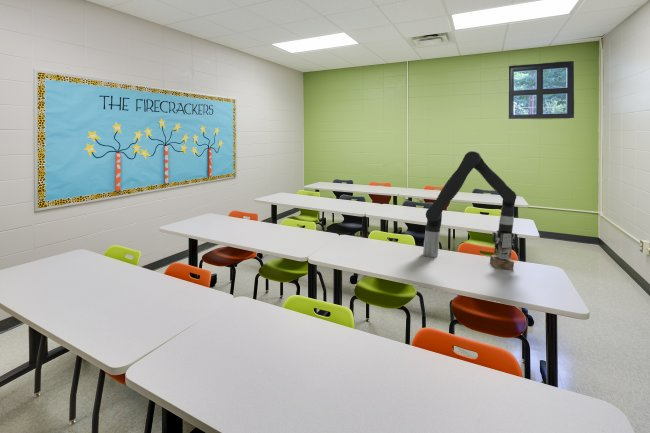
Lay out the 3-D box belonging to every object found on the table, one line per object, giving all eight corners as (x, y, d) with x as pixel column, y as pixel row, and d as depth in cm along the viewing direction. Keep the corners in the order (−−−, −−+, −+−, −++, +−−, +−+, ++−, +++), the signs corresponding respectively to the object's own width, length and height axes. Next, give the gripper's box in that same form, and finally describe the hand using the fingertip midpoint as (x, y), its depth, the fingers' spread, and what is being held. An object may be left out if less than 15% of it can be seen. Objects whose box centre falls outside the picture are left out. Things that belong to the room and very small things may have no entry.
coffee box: (510, 259, 212) (514, 233, 209) (500, 259, 212) (503, 233, 209) (503, 255, 221) (506, 230, 218) (493, 254, 221) (496, 230, 218)
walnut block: (495, 268, 212) (496, 260, 212) (489, 262, 224) (490, 255, 223) (513, 269, 211) (514, 261, 210) (506, 263, 222) (507, 256, 222)
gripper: (495, 223, 210) (492, 250, 213) (521, 225, 208) (517, 251, 211) (491, 221, 217) (488, 247, 220) (516, 222, 215) (513, 248, 218)
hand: (502, 249), depth 216 cm, fingers closed on coffee box, 7 cm apart
